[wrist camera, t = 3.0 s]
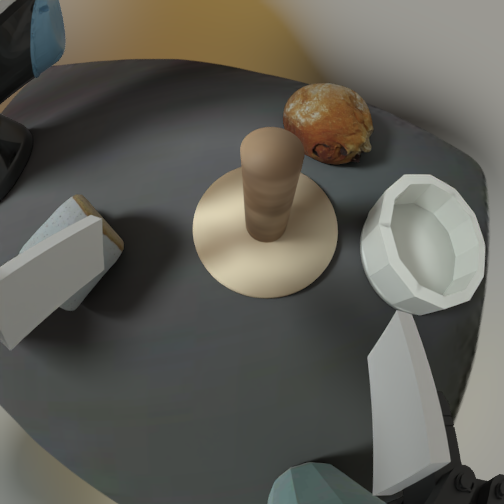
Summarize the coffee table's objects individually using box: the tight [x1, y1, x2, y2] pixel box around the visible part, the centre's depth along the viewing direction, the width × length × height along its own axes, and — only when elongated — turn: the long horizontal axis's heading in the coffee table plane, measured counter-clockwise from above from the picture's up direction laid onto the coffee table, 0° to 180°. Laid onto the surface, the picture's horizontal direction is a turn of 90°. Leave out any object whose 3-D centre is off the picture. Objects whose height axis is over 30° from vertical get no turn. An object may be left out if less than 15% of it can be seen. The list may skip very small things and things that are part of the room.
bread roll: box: [283, 83, 374, 165], centre depth 27 cm, size 10×10×8 cm
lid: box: [193, 127, 338, 299], centre depth 20 cm, size 13×13×11 cm
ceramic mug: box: [19, 195, 124, 311], centre depth 21 cm, size 11×8×8 cm
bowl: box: [360, 174, 485, 315], centre depth 22 cm, size 12×12×5 cm
